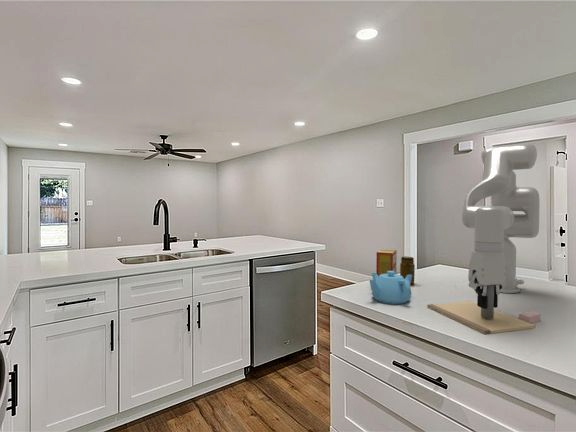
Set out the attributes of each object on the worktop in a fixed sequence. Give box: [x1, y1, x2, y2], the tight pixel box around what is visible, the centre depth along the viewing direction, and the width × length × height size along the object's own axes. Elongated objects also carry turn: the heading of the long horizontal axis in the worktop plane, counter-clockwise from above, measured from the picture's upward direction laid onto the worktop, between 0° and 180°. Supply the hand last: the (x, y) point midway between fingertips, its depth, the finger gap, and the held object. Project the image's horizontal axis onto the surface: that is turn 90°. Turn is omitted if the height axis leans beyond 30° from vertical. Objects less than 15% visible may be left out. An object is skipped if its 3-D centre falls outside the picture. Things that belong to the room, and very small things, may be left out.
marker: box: [481, 285, 495, 319], centre depth 100 cm, size 4×4×12 cm
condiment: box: [399, 256, 422, 287], centre depth 146 cm, size 7×8×12 cm
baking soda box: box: [375, 248, 397, 276], centre depth 141 cm, size 10×6×16 cm
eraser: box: [518, 310, 542, 324], centre depth 101 cm, size 6×3×2 cm, turn 116°
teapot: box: [369, 271, 412, 305], centre depth 123 cm, size 15×15×11 cm
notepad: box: [426, 300, 536, 335], centre depth 104 cm, size 18×24×1 cm
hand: (487, 306), depth 100 cm, fingers closed on marker, 3 cm apart
